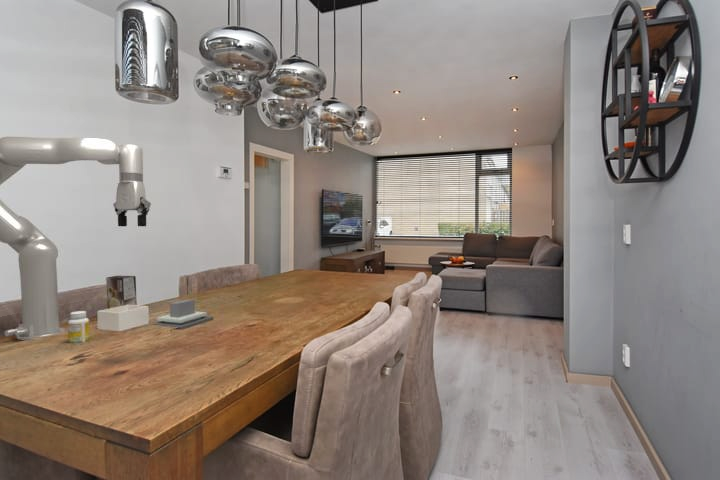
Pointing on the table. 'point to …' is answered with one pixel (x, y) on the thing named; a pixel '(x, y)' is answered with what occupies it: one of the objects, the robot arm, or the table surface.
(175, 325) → the charcoal mat
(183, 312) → the sage lid
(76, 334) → the supplement bottle
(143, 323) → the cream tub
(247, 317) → the table surface
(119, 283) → the coffee box
